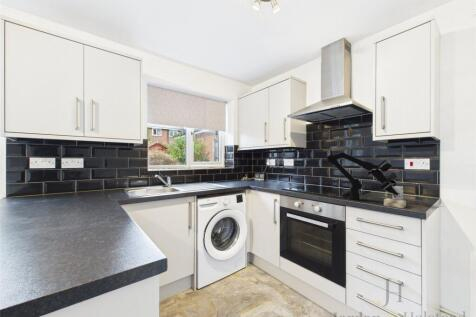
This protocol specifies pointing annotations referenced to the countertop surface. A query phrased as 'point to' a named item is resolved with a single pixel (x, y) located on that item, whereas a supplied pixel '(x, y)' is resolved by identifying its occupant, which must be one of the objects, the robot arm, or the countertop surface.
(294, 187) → the countertop surface
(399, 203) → the birch block
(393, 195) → the ink box
